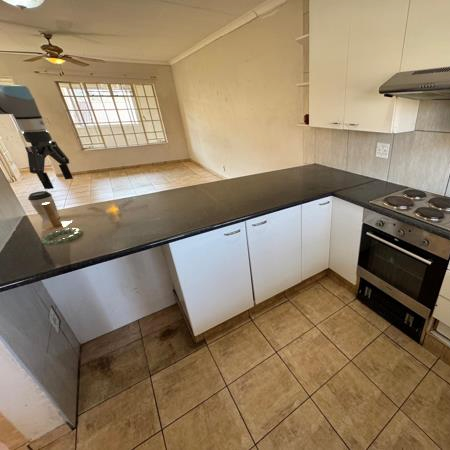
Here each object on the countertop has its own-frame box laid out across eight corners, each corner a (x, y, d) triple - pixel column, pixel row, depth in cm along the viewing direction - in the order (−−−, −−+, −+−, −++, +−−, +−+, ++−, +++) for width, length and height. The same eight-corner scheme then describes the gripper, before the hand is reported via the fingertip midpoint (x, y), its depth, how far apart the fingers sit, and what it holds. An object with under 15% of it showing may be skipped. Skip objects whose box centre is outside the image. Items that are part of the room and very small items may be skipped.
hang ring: (35, 250, 106) (32, 244, 105) (56, 234, 118) (53, 228, 117) (72, 246, 109) (69, 240, 108) (89, 231, 121) (86, 225, 120)
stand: (41, 233, 119) (27, 208, 113) (53, 225, 127) (41, 200, 121) (63, 231, 121) (50, 206, 115) (73, 223, 129) (62, 199, 122)
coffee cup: (39, 223, 128) (24, 197, 121) (40, 218, 135) (26, 192, 128) (62, 218, 133) (49, 192, 127) (62, 213, 140) (50, 188, 133)
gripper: (22, 134, 85) (51, 192, 95) (65, 127, 107) (85, 174, 117) (-5, 135, 84) (28, 194, 93) (45, 127, 105) (67, 176, 115)
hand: (59, 183), depth 105 cm, fingers open, 13 cm apart
